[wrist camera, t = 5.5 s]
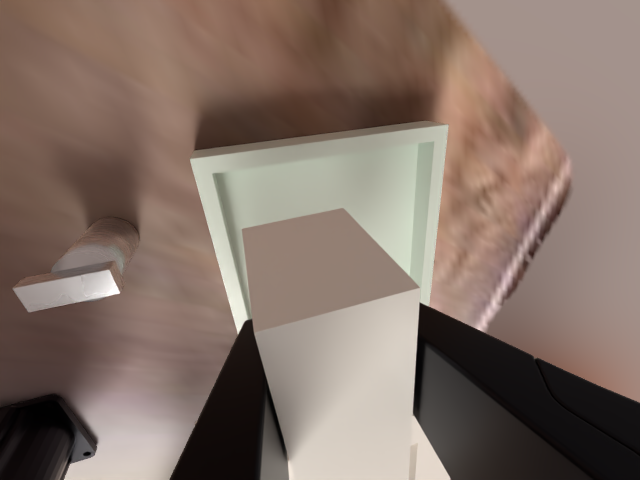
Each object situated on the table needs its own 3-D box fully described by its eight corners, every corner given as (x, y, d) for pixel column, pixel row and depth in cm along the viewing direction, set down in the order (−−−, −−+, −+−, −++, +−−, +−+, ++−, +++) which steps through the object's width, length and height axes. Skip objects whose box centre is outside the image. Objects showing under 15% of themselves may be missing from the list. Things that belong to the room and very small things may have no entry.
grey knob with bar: (149, 251, 18) (125, 304, 13) (83, 263, 17) (36, 323, 13) (134, 212, 17) (102, 257, 12) (63, 224, 16) (3, 275, 12)
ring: (417, 467, 15) (466, 565, 12) (249, 532, 13) (257, 664, 10) (441, 187, 8) (568, 247, 5) (113, 255, 7) (21, 395, 4)
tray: (408, 353, 28) (421, 372, 26) (259, 397, 25) (262, 422, 23) (425, 120, 19) (448, 124, 17) (193, 150, 16) (189, 159, 14)
